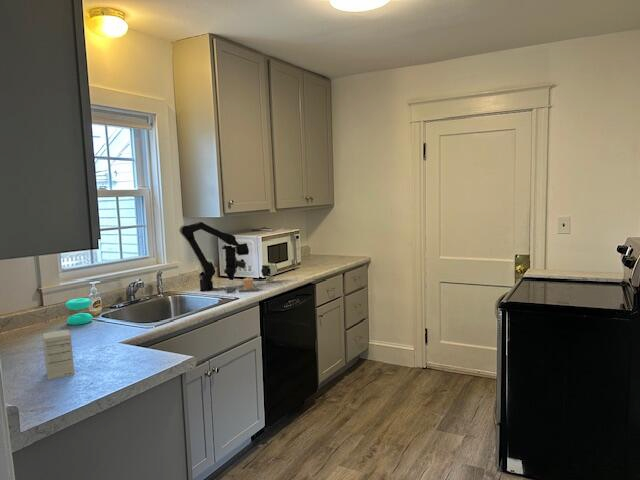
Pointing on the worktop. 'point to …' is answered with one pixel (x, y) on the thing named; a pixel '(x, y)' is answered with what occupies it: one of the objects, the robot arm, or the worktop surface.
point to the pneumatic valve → (269, 271)
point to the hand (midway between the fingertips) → (232, 283)
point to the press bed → (248, 289)
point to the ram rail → (230, 289)
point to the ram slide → (230, 283)
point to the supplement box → (58, 354)
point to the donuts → (80, 317)
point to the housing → (248, 283)
